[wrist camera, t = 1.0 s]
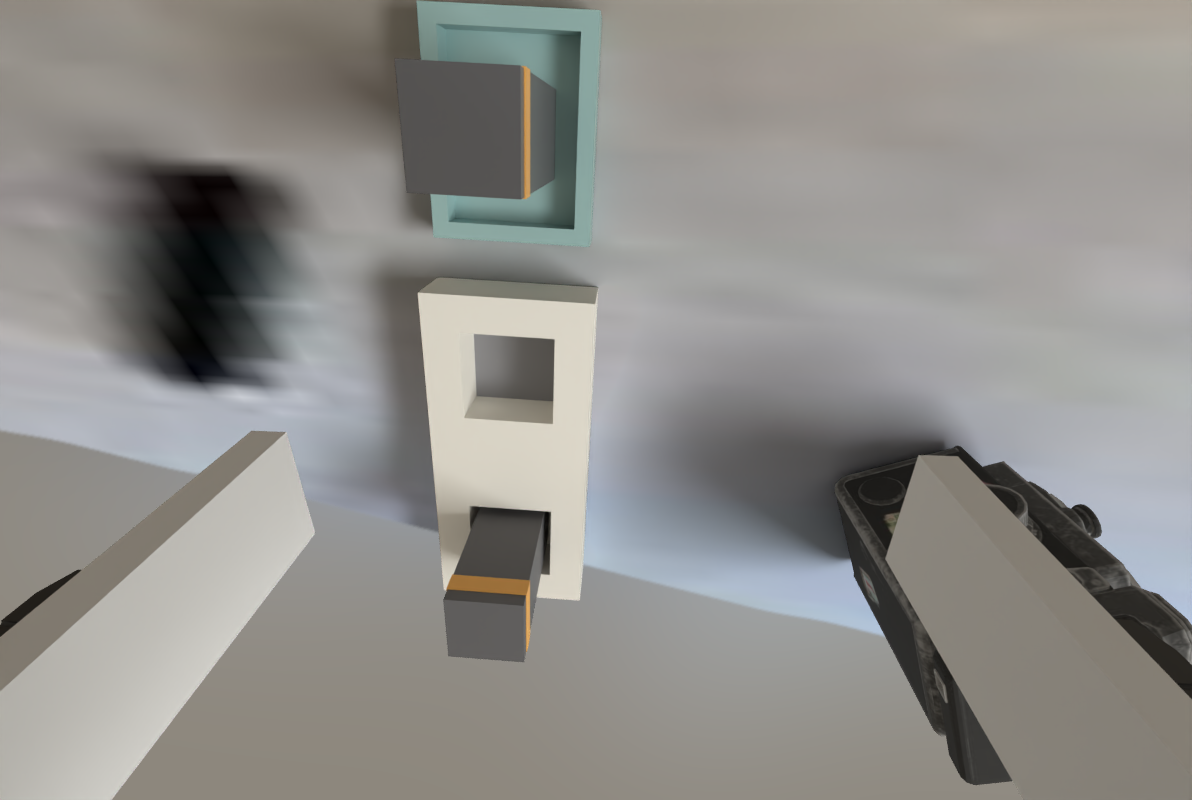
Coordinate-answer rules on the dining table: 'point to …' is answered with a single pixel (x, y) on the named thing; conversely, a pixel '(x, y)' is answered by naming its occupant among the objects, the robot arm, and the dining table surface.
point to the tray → (570, 65)
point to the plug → (475, 128)
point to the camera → (868, 531)
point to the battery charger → (507, 451)
